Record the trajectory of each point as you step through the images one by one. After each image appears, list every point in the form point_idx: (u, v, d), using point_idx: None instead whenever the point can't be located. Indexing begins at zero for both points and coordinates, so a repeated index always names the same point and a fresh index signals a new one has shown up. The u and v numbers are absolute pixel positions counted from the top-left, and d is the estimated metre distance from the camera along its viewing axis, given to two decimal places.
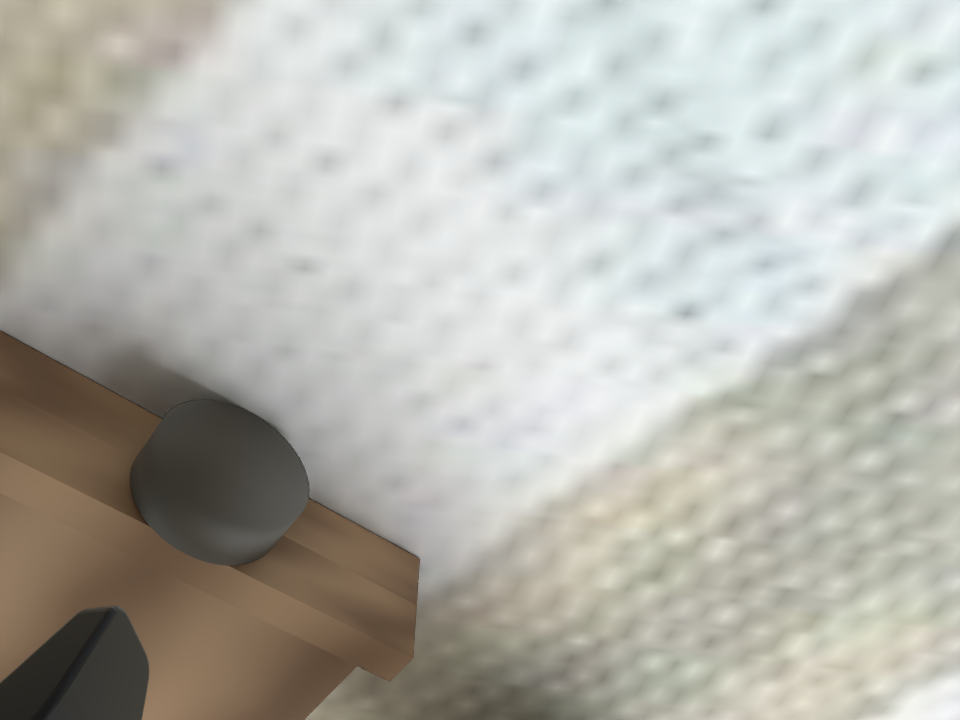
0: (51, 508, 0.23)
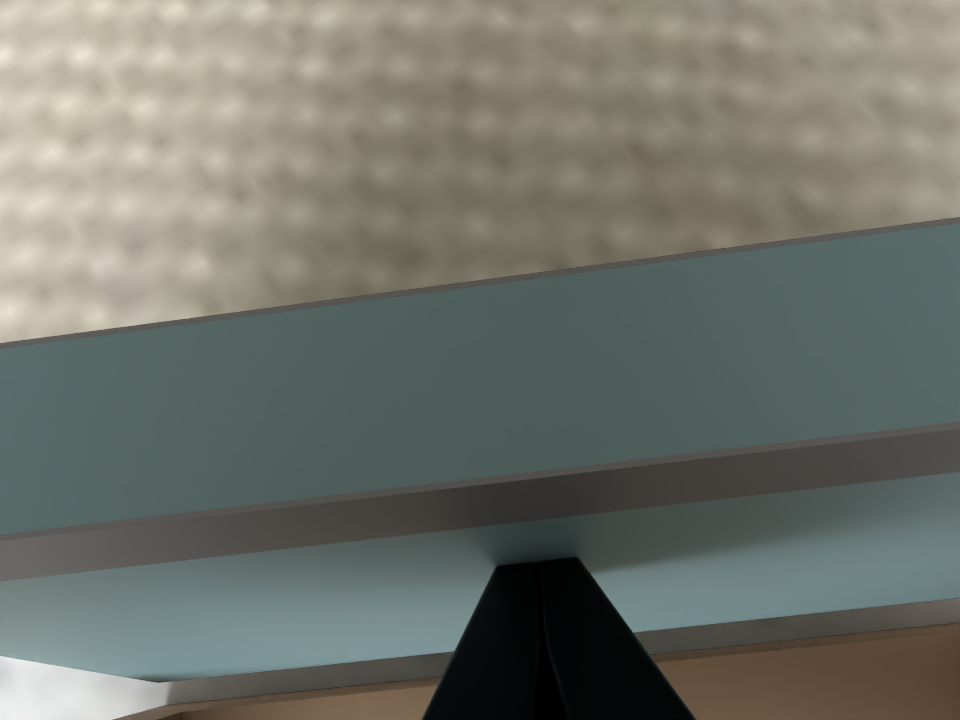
0: None
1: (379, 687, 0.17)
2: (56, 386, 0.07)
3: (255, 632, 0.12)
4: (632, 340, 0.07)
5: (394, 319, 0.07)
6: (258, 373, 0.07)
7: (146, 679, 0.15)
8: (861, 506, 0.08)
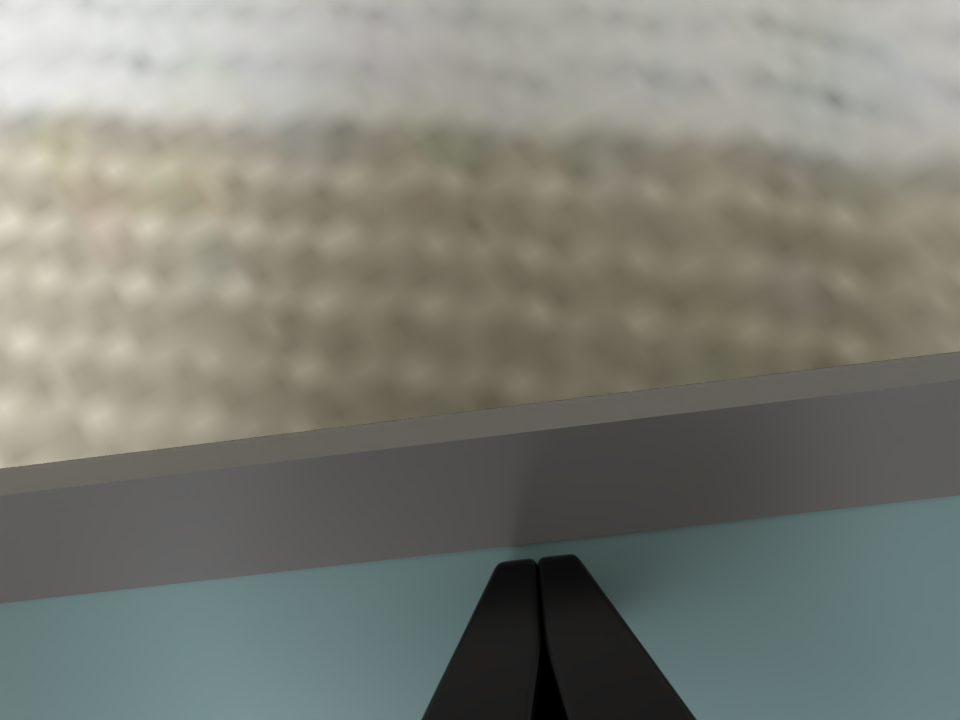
0: None
1: None
2: (236, 446, 0.11)
3: None
4: (604, 405, 0.10)
5: (456, 416, 0.11)
6: (366, 431, 0.11)
7: None
8: (829, 608, 0.10)
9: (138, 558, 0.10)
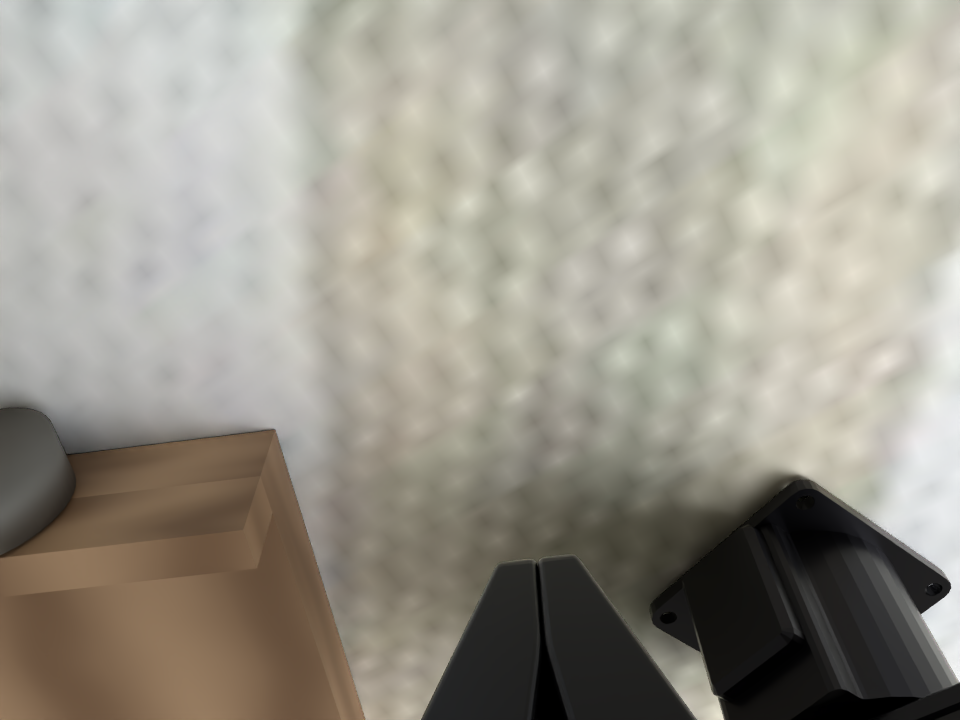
0: None
1: None
2: None
3: None
4: None
5: None
6: None
7: None
8: None
9: None
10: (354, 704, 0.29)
